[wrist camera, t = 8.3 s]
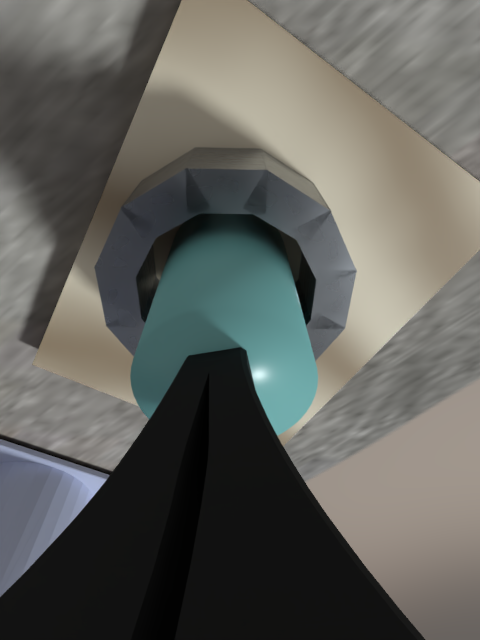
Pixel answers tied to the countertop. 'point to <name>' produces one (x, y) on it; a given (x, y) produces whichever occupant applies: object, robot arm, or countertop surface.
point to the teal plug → (229, 315)
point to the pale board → (300, 155)
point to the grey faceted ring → (225, 198)
